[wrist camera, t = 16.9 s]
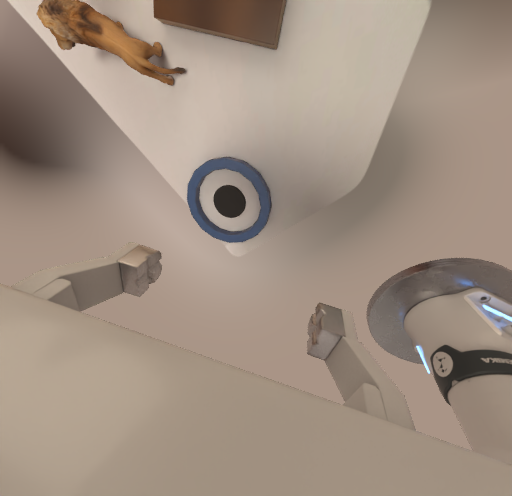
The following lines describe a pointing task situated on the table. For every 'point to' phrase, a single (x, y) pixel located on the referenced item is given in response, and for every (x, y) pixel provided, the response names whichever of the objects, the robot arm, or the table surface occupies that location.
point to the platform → (226, 18)
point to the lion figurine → (100, 35)
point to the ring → (246, 172)
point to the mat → (229, 201)
